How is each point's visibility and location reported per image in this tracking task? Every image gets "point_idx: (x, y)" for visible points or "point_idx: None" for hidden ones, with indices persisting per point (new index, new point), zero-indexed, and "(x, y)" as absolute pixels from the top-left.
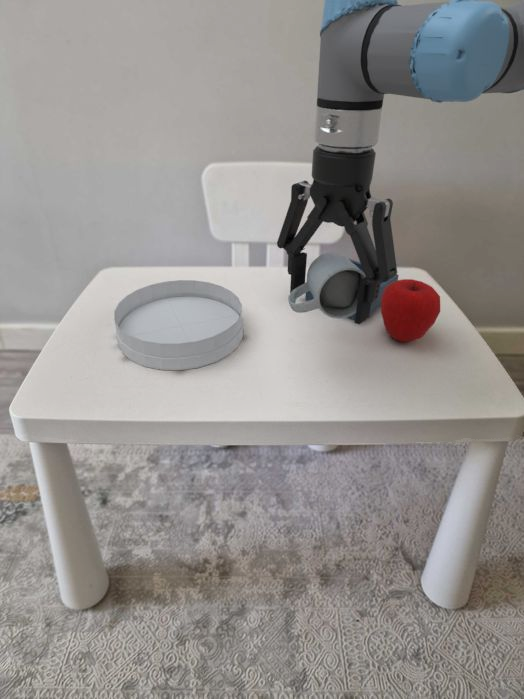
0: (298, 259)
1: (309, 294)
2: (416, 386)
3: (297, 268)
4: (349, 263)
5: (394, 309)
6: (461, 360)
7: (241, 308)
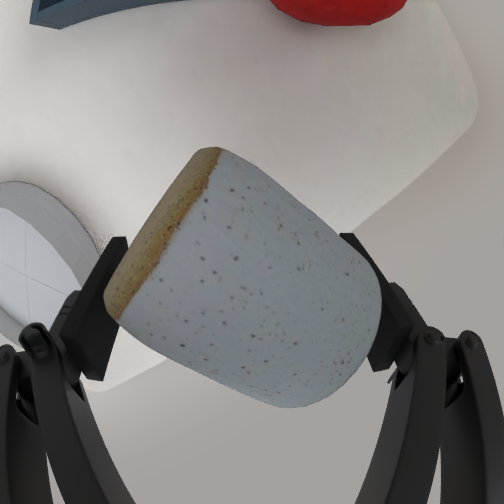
0: (99, 366)
1: (58, 24)
2: (384, 128)
3: (108, 341)
4: (311, 362)
5: (325, 18)
6: (413, 25)
7: (31, 217)
